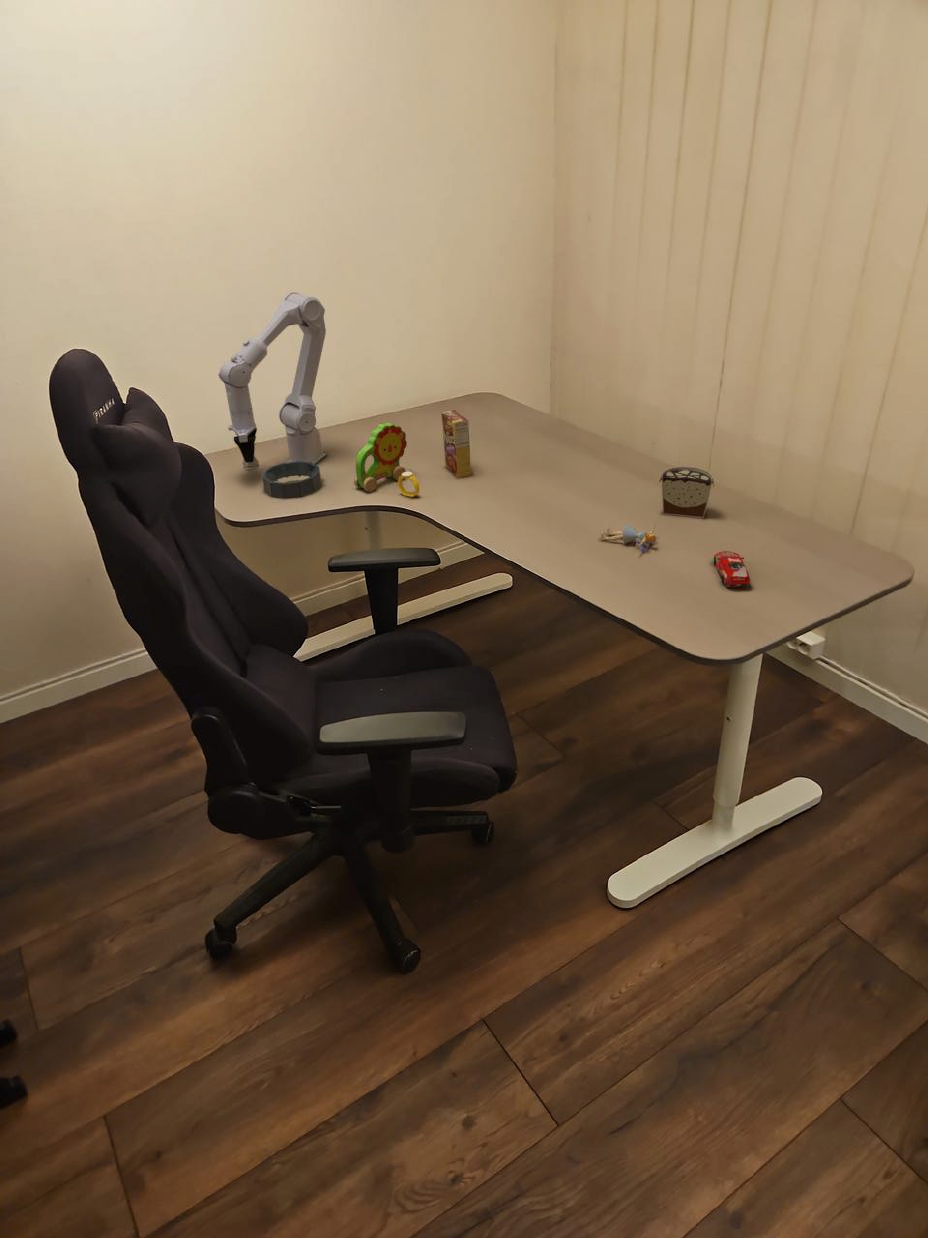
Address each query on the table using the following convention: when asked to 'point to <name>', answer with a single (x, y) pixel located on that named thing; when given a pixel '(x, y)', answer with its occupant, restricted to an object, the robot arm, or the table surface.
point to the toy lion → (381, 456)
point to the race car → (731, 569)
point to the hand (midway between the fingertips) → (249, 458)
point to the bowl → (292, 479)
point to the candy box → (456, 443)
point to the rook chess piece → (251, 465)
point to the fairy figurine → (630, 536)
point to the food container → (686, 491)
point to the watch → (414, 480)
